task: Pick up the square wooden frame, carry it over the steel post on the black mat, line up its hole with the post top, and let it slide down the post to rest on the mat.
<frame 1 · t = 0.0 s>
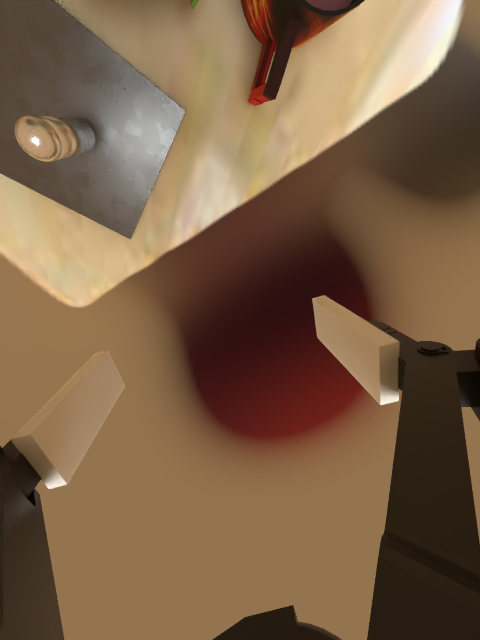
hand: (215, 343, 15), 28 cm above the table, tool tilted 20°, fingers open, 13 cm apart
post stand: (81, 135, 29), on the table
mug: (285, 15, 26), on the table
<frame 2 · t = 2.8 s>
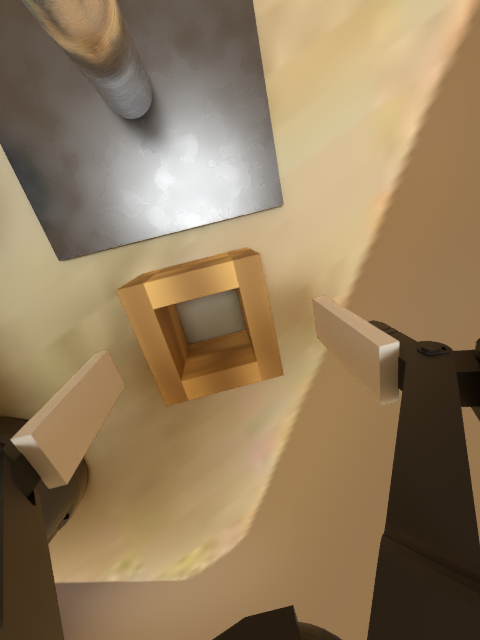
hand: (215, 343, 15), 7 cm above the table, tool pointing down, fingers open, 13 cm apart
square wooden frame: (209, 309, 22), on the table
post stand: (129, 92, 16), on the table
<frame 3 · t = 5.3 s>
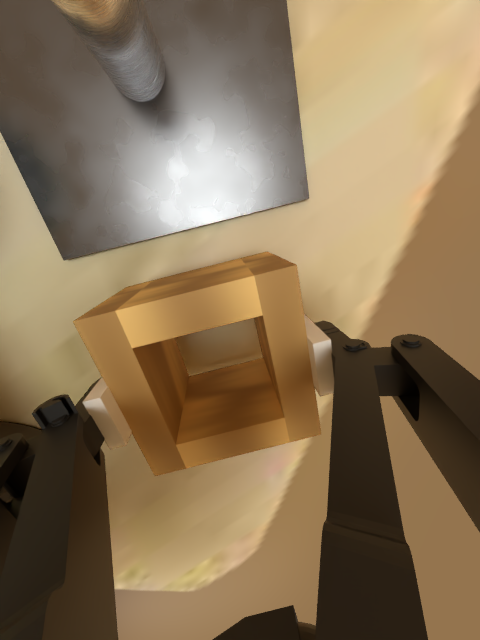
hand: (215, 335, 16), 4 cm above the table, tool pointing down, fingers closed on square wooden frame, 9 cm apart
square wooden frame: (215, 333, 17), point 4 cm above the table, touching gripper
post stand: (139, 72, 14), on the table
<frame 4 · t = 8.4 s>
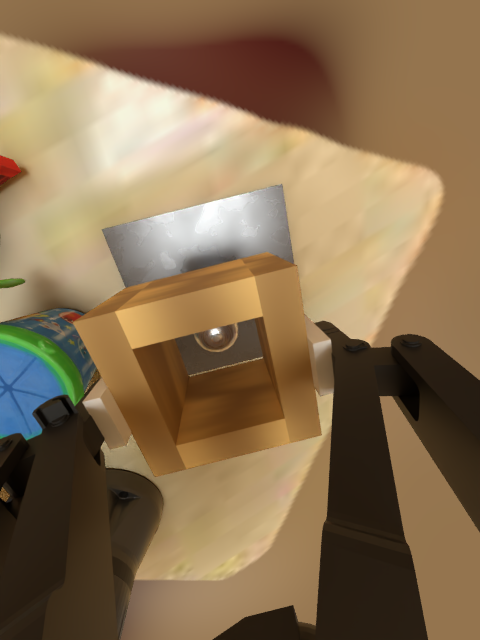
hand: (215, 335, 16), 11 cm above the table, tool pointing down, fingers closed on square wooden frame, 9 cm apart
square wooden frame: (216, 333, 17), point 11 cm above the table, touching gripper
snack cup: (74, 337, 28), on the table
post stand: (216, 293, 27), on the table
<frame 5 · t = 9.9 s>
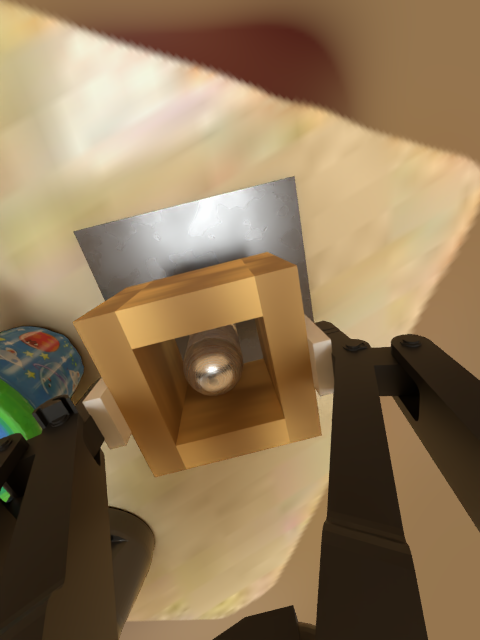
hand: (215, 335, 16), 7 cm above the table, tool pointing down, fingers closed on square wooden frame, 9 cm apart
square wooden frame: (216, 333, 17), point 7 cm above the table, touching gripper
snack cup: (45, 359, 23), on the table
post stand: (214, 307, 23), on the table
when the fingers open (2 cm above the table, at t = 11.4 s): square wooden frame drops 1 cm, resting on post stand.
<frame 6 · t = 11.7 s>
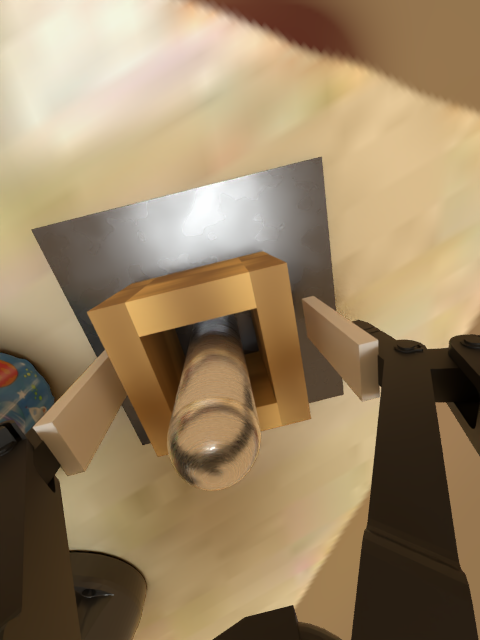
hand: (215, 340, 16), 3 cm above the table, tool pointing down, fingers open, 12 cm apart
square wooden frame: (214, 327, 18), resting on post stand
snack cup: (7, 388, 19), on the table
post stand: (215, 324, 18), on the table
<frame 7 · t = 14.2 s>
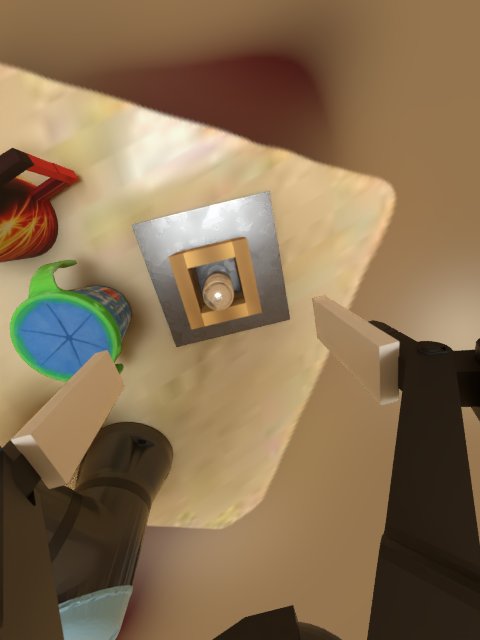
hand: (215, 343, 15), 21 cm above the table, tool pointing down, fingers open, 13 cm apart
square wooden frame: (217, 276, 34), resting on post stand
snack cup: (106, 310, 35), on the table
post stand: (218, 275, 34), on the table
mug: (23, 202, 30), on the table
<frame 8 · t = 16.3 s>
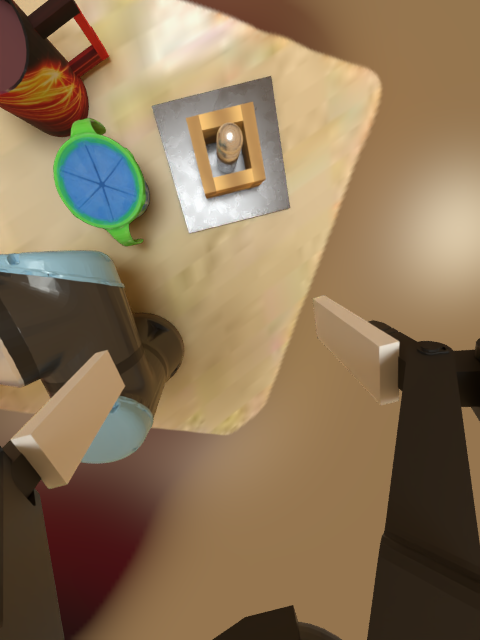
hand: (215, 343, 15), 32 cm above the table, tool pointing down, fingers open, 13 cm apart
square wooden frame: (226, 161, 39), resting on post stand
snack cup: (127, 194, 40), on the table
post stand: (226, 161, 39), on the table
mug: (59, 82, 34), on the table
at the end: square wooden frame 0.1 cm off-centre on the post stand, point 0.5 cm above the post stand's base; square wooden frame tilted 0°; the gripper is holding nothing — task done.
